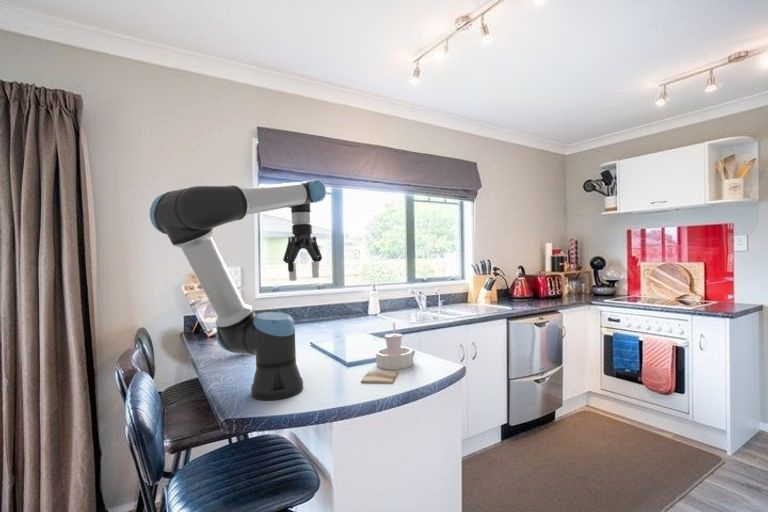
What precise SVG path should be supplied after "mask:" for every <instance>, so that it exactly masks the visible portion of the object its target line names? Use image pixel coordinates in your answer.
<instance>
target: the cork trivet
mask: <svg viewBox="0 0 768 512" xmlns="http://www.w3.org/2000/svg"><path fill="white" fill-rule="evenodd" d="M398 374H399V371H396V370H387V371H386V370H382V371H381V370H368V372H366V374H365V375H364V377H362V379H361V380H360V383H361V384H390V385H391V384H394V382H395V380H396V377H397V376H398Z"/></svg>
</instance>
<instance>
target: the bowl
mask: <svg viewBox="0 0 768 512" xmlns="http://www.w3.org/2000/svg"><path fill="white" fill-rule="evenodd" d="M375 354H376V355H375V358H376V366H377V368H379V369H382V370H385V371H386V370H387V371H396V370H403V369H407V368H410V367H413V364H414V355H413V354H414V351H413V349H412V348H411V347H407V346H401V352H400V355H388V350H387V346H386V347H382V348H379V349H377V350H375Z"/></svg>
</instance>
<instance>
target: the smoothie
mask: <svg viewBox="0 0 768 512" xmlns="http://www.w3.org/2000/svg"><path fill="white" fill-rule="evenodd" d="M402 338H403V334H401V333H396V323H394V322H393V333H387V334H384V340H385V343H386V347H387V350H388V355H400V352H401V347H402Z"/></svg>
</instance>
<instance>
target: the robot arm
mask: <svg viewBox="0 0 768 512" xmlns="http://www.w3.org/2000/svg"><path fill="white" fill-rule="evenodd" d="M326 196H327V190H326V185H325V184H324V182H323V181H322V180H320V179H311V180H306V181H298V182H288V183H279V184H278V183H276V184H269V185H268V184H267V185H259V186H258V185H257V186H251V187H242V188H241V187H240V186H237V185H218V186H215V185H214V186H213V185H197V186H190V187H187V188H182V189H177V190H171V191H167V192H165V193H162V194H160V195H158V196H156V198H155V199H154V200H153V201H152V202H151V205H150V207H149V218H150V219H149V220H150V222H151V224H152V226H153V227H154V228H155V229H156V230H157V231H158V232H160V233H162V234H164V235H167V236H168V237H167V238H169V241H170V242H171V244H172V246H173V247H177V248H180V249H181V250H182V252H183V254H184V256H185V258H186V260H187V262H188V263H189V266H190V267H191V269H192V271H193V273H194V275H195V277H196V278H197V281H198V282H199V284H200V286H201V288H202V289H203V292H204V293H205V295H206V297H207V299H208V301H209V303H210V304H211V307H212V308H213V310H214V312H215V314H216V316H217V318H216V320H215V325H216V328H215V330H216V332H215V340H216V342H217V344H218V345H219V346H220V347H221V348H222V349H223V350H225V351H228V352H231V353H234V354H243V353H244V354H253V355H252V356H255V368H256V369H255V373H254V375H253V381H252V384H251V386H250V387H251V388H250V390H251V391H250V392H251V393H250V396H251V397H252V398H253V399H255V398H256V400H259V399H260V400H259V401H276V400H281V399H286V398H289V397H292V396H296V395H297V394H300V393H301V392H302V391H303V389H304V381H303V378H302V377H301V374H300V370H299V367H298V365H297V355H296V353H297V352H296V333H295V332H296V327H295V321H294V318H293V317H292V315H290V314H289V313H285V312H279V311H275V312H273V311H266V312H264V311H263V312H259V313H257V314H256V312H255V310H254V308H253V306H252V305H251V304H248V303H245V301H244V299H243V297H242V295H241V293H240V291H239V289H238V287H237V285H236V283H235V280H234V279H233V277H232V275H231V273H230V271H229V269H228V267H227V264H226V263H225V260H224V258H223V257H222V255H221V253H220V251H219V249H218V247H217V245H216V242H215V240H214V238H213V234H214V230H215V228H217V227H219V226H220V227H221V226H223V225H226V224H229V223H232V222H236V221H240V220H243V219H244V218H245V217H247V216H248V215H253V214H257V213H265V212H268V211H269V212H270V211H274V210H279V209H280V210H281V209H285V208H290V210H291V211H290V212H291V213H290V214H291V223H292V224H293V225H292V226H291V227H292V229H291V232H292V235H293V236H288V240H287V246H286V249H285V252H284V255H283V258H282V259H283V260H282V261H283V262H285V264H287V270H288V274H289V275H288V277H289V281H290V282H293V281H297V263H296V262H295V260H296V258H297V256H298V255H299V253H300V252H301V250H302V249H305V250H306V251H307V253H308V255H309V256H310V258H311V260H312V261H311V272H312V275H311V276H312V279H314V278H315V279H317V278H320V272H319V271H320V270H319V269H320V265H319V264H320V263H319V262H321V261H322V259H323V256H322V254H321V251H320V247H319V245H318V242H317V237H316V236H311V235H312V234H313V226H312V222H313V219H312V218H313V217H312V206H311V205H312V204H314V203H318V202H322V201H323V200H325V198H326ZM311 203H312V204H311ZM244 354H243V355H244Z"/></svg>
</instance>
